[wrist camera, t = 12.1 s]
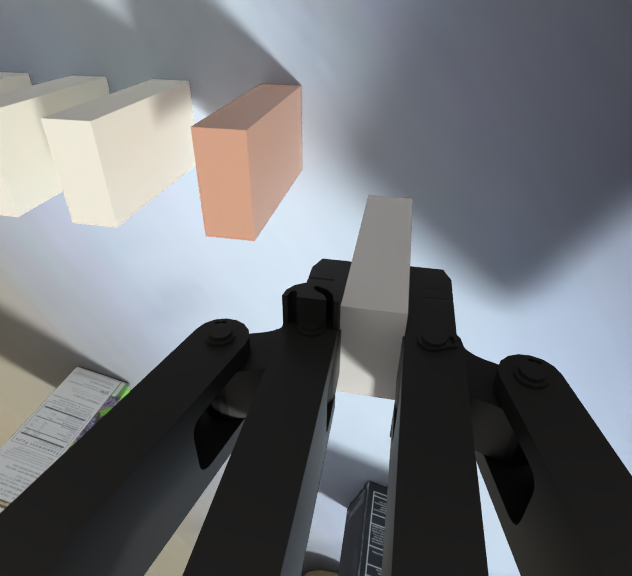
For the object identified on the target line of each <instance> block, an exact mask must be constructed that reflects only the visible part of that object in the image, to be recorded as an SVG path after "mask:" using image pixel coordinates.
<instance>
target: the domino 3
mask: <svg viewBox="0 0 632 576" xmlns="http://www.w3.org/2000/svg"><path fill="white" fill-rule="evenodd" d="M191 134H192V142H193V149H194V156H195V163H196V170H197V178H198V185H199V192H200V199H201V206H202V213H203V221H204V228H205V235H206V236H210V237H220V238H230V239H240V240H250V241H255V240H256V238H257V237H258V235H259V234H260V232H261V231H262V229H263V228H264V226H265V225H266V223H267V222H268V220H269V219H270V217H271V216H272V214H273V213H274V211H275V210H276V208H277V207H278V205H279V204H280V202H281V201H282V199H283V198H284V196H285V195H286V193H287V192H288V190H289V189H290V187H291V186H292V184H293V183H294V181H295V180H296V178H297V177H298V175H299V174H300V172H301V171H302V85H280V84H260V85H259V86H257V87H255V88H254V89H252V90H250V91H249V92H247V93H245V94H244V95H242V96H241V97H239V98H237V99H236V100H234V101H232V102H231V103H229V104H227V105H226V106H224V107H222V108H221V109H219V110H217V111H216V112H214V113H212V114H211V115H209V116H208V117H206V118H204V119H203V120H201V121H199V122H198V123H196V124H194V125H193V126H191Z"/></svg>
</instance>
